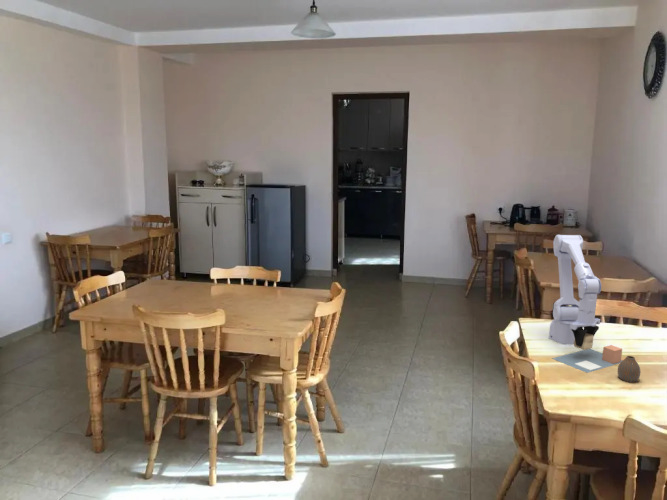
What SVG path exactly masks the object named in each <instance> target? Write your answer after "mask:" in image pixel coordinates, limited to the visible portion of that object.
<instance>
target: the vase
mask: <svg viewBox="0 0 667 500" xmlns="http://www.w3.org/2000/svg"><path fill="white" fill-rule="evenodd" d="M617 376H618V378H619V379H620V380H621V381H623V382H626V383H627V382H628V383H636V382H637V381H638V380H639V379H640V377H641V367H640V365H639V363H638V361H637V360H636V358H635V357H634V356H632V355H627V356H625V358H624V359H623V361H622V362H621V363H619V364H618V367H617Z"/></svg>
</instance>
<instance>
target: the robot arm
mask: <svg viewBox="0 0 667 500" xmlns="http://www.w3.org/2000/svg"><path fill="white" fill-rule="evenodd" d="M552 244H553V247H552V248H553V255H554V256H555V257H557V264H558V280H559V297H560V298H558V299H557V300H556V301H555V302H554V303H553V310H552V317H553V319H552V321H551V322H550V324H549V331H548V339H549V340H551V341H554V342H556V343H557V344H561V345H566V346H567V345H569V346H570V345H574V340H575V343H576V345H577V346H579V347H582V344H583V340H584V336H585V334H586V333H588V334H591V335H594V336H593V338H594V337H595V335H596V333H597V331H599V329H600V327H599V326H598V325H600V324H601V318H598V317H596V311H597V299H598V295H599V294H600V293H601V291H602V282H601V280H600V279H601V278H598V277H597V276H596V275H595V274H594V272H593V270H592V268H591V264H589V262H586V261H585V256H584V254H583V246H584V238H583V237H582V236H581V234H556V235H555V237H554V239H553V242H552ZM572 261H573V263H574V265H575V266H574V268H573V267H572ZM572 268H573V270H572ZM573 271H574V273H575V276H576V278H577V281H578V284H577V289H578V298H579V300H578V299H576V298H575V297H574V282H573Z"/></svg>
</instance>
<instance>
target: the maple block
mask: <svg viewBox="0 0 667 500" xmlns="http://www.w3.org/2000/svg"><path fill="white" fill-rule="evenodd" d="M593 336H594V337H595V335H591V334H588V333H586V334H585V336H584V340H583V344H582V347H579V346H577V345H576V343H575V340H574V344H573V347H574V348H578V349H579V350H581V351H582V350H587V349H592V348H593V343H594V337H593Z"/></svg>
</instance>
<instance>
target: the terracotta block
mask: <svg viewBox="0 0 667 500" xmlns="http://www.w3.org/2000/svg"><path fill="white" fill-rule="evenodd" d="M602 353H603V356H602V360H604V361H607V362H609V363H612V364H615V363H618V362H621V360H622V356H623V355H622V354H623V348H621V347H618V346H616V345H612V344H610V345H607V346H603V349H602Z"/></svg>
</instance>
